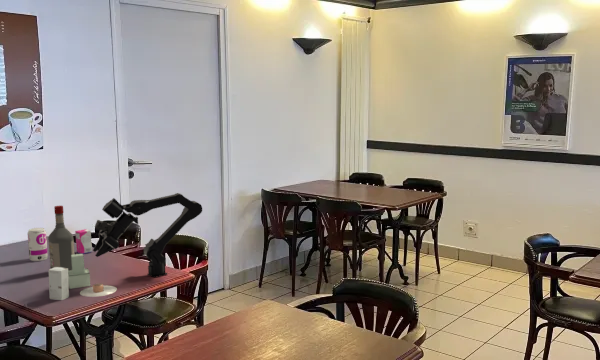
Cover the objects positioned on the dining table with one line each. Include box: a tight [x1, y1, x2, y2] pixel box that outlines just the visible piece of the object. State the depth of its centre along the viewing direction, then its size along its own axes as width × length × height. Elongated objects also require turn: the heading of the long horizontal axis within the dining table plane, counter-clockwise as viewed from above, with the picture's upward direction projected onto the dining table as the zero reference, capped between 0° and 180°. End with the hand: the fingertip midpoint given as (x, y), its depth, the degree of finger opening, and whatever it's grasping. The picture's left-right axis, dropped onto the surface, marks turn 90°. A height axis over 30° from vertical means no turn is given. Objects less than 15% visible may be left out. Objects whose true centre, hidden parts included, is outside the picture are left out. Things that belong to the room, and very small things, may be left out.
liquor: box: [48, 205, 75, 271], centre depth 263 cm, size 9×9×30 cm
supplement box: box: [74, 228, 93, 255], centre depth 297 cm, size 6×6×12 cm
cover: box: [68, 253, 91, 290], centre depth 243 cm, size 8×8×12 cm
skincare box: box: [48, 267, 70, 301], centre depth 227 cm, size 6×4×12 cm
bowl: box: [92, 282, 104, 293], centre depth 235 cm, size 4×4×3 cm
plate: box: [79, 285, 118, 298], centre depth 235 cm, size 14×14×1 cm
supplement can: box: [27, 227, 49, 262], centre depth 285 cm, size 8×8×15 cm
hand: (94, 253), depth 245 cm, fingers open, 9 cm apart
